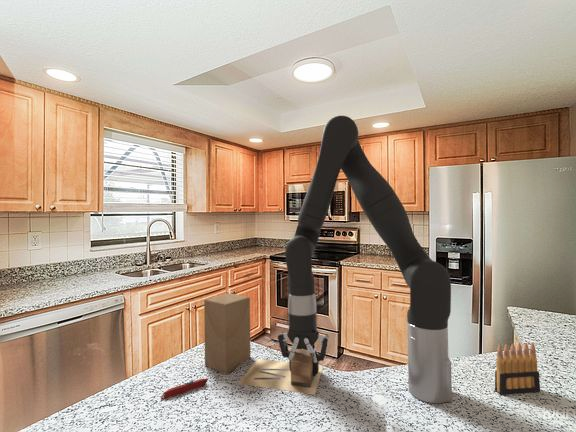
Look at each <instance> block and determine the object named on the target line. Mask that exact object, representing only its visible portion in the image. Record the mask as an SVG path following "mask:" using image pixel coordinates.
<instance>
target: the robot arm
mask: <svg viewBox="0 0 576 432" xmlns="http://www.w3.org/2000/svg"><path fill="white" fill-rule="evenodd" d="M321 135H322V136H321V143H320V150H319V154H318V158H317V161H316V164H315V168H314V172H313V175H312V178H311V180H310V183H309V185H308V189H307V191H306V194H305V196H304V199H303V202H302V205H301V207H300V209H299V210H300V211H299V213H298V218H297V223H298V224H297V227H296V230H295V233H294V236H293V237H291V238H290V239H289V240H288V241H287V243H286V245H285V251H284V253H285V255H284V256H285V262H286V269H287V273H288V300H287V310H288V311H287V312H288V331H287V332H284V331H281V332H280V333H279V334H278V335H277V340H278V344H279V348H280V353H281V357H282V358H287V359H288V361H289V367H290V371H291V360H292V358H293V356H294V355H295V353H296V351H297V349H305V350H308V351H309V354H310V355H311V358H312V360H313V363H312V364H313V376H316V374H318V371H319V366H320V362H323V361H324V360H325V357H326V354H327V349H328V343H329V340H330V337H329V335H327V334H325V335H323V334H319V331H318V322H317V321H318V320H317V319H318V317H317V316H318V315H317V298H316V286H315V285H316V284H315V275H314V273H313V265H312V263H313V262H312V257H313V255H314V254H315V251H316V248H317V245H318V242H319V237H320V233H321V231H322V230H321V229H322V227H323V225H324V223H325V220H326V217H327V215H328V212H329V210H330V209H329V208H330V207H331V204H332V199H333V196H334V193H335V192H334V191H335V188H336V185H337V180H338V178H339V174H340V173H341V172H340V171H342V172H343V174H344V176H345V177H346V179H347V181H348V183H349V185H350V187H351V190H352V192H353V194H354V196H355V198H356V200H357V201H358V203H359V206H360V208H361V209H362V211H363V212H364V214H365V216H366V218H367V220H368V221H369V222H370V224H371V226H372V227H373V229H374V230H375V232H376V233H377V234H378V236H379V237H380V238H381V240H382V241H383V242H384V244H385V245H386V246H387V248H388V249H389V250H390V252H391V254H392V256H393V258H394V260H395V262H396V264H397V266H398V268H399V271H400V272H401V275H402V277H403V279H404V282H405V283H406V285H407V286H408V287H409V308H408V309H407V312H406V319H407V320H406V321H407V322H406V323H407V325H406V326H407V329H406V330H407V372H408V373H407V374H408V377H407V378H408V379H407V382H408V391H409V393H410V394H411V395H412V397H415V398H416V399H418V400H420V401H423V402H427V403H430V404H443V403H447V402H448V403H452V402H453V391H452V390H453V387H452V386H453V385H452V361H451V359H450V358H449V319H450V317H451V312H452V311H451V307H452V305H451V304H452V303H451V302H452V284H451V282H452V281H451V276H450V273H449V271H448V269H447V268H446V267H445V266H444V265H443V264H441V263H439V262H437V261H434V260H432V259H431V258H430V256H429V255H428V253H427V252H426V251H425V249H424V248H423V247H422V246H421V244H420V242H419V241H418V239H417V237H416V236H415V234H414V231H413V229H412V225H411V221H410V219H409V217H408V214H407V211H406V209H405V207H404V205H403V203H402V202H401V200H400V198H399V197H398V195H397V194H396V192H395V190H394V189H393V187H392V186H391V185H390V183H389V182H388V181H387V180H386V178H384V176H383V175H382V174H381V173H380V172H379V171H378V170H377V169H376V168H375V167H374V166H373V165H372V164H371V162H370V160H369V159H368V157H367V156H366V154H365V152H364V150H363V148H362V146H361V144H360V141H359V129H358V126H357V123H356V122H355V121H354V120H353V119H352V118H351V117H349V116H347V115H337V116H334V117H331V118H330V119H329V120H328V121H327V122H326V124H325V125H324V127H323V131H322V134H321ZM288 339H289V341H290V343H292V346H291V348H290V350H289V347H288V342H287V341H288ZM318 340H319V341H318ZM317 341H318V342H319V344H320V345H321V349H320V353H318V351H317V346H316V344H315V343H316V342H317Z"/></svg>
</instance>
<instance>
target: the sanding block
mask: <svg viewBox="0 0 576 432" xmlns="http://www.w3.org/2000/svg"><path fill="white" fill-rule="evenodd" d="M312 363H313V360H312V358H311V355H310V354H309V351H308V350H305V349H297V351H296V353H295V355H294V356H293V358H292V360H291V385H294V386H301V387H309V388H310V387H311V384H312V382H313V379H314V376H313V364H312Z"/></svg>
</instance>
